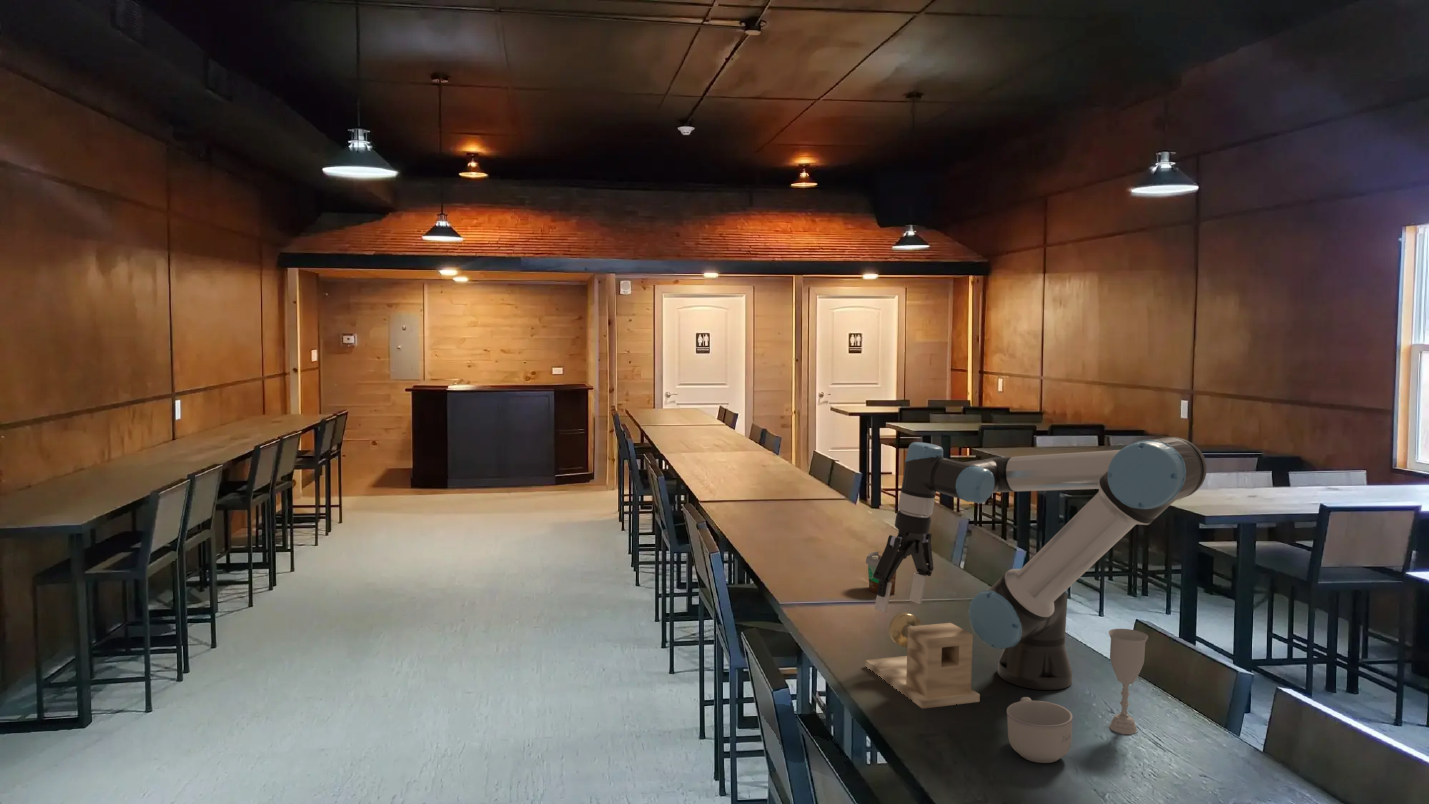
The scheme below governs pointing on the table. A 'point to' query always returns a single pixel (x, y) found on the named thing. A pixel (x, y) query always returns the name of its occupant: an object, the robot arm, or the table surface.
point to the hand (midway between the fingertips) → (898, 606)
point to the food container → (872, 565)
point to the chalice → (1126, 671)
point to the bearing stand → (932, 666)
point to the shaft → (902, 627)
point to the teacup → (1039, 730)
